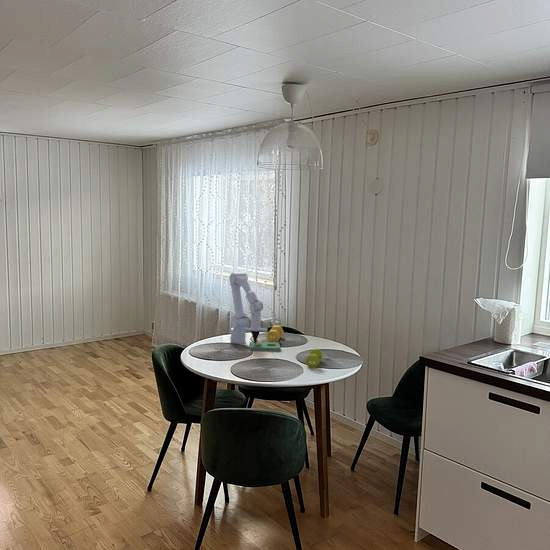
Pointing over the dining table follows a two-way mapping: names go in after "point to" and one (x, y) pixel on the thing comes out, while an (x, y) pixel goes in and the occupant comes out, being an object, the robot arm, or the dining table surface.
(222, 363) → the dining table surface
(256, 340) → the ball
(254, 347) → the putting deck
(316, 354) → the green grapes
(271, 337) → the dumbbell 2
